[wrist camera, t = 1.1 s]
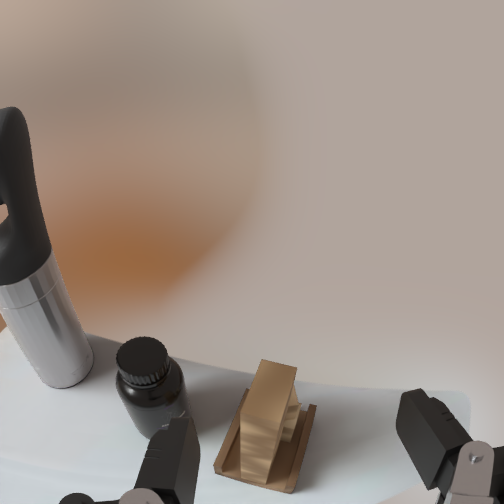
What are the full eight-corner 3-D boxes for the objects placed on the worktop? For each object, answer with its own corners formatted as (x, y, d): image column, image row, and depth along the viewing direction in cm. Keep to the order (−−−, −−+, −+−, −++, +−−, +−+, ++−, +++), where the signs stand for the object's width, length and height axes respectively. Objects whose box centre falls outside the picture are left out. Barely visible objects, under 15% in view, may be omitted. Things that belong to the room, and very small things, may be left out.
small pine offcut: (264, 422, 29) (266, 408, 27) (260, 399, 31) (262, 384, 29) (294, 419, 29) (298, 404, 27) (289, 396, 31) (292, 380, 30)
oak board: (240, 478, 26) (240, 412, 18) (254, 442, 30) (261, 359, 22) (265, 484, 26) (280, 422, 17) (277, 448, 29) (297, 367, 21)
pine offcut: (253, 433, 31) (254, 419, 29) (262, 410, 33) (264, 394, 31) (290, 442, 30) (294, 429, 28) (297, 418, 32) (301, 403, 30)
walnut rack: (215, 473, 28) (213, 464, 26) (246, 401, 36) (246, 388, 34) (290, 494, 26) (294, 487, 24) (312, 417, 34) (316, 405, 32)
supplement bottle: (184, 450, 30) (162, 396, 23) (127, 434, 30) (91, 375, 24) (199, 401, 35) (187, 335, 29) (146, 389, 36) (122, 322, 30)
